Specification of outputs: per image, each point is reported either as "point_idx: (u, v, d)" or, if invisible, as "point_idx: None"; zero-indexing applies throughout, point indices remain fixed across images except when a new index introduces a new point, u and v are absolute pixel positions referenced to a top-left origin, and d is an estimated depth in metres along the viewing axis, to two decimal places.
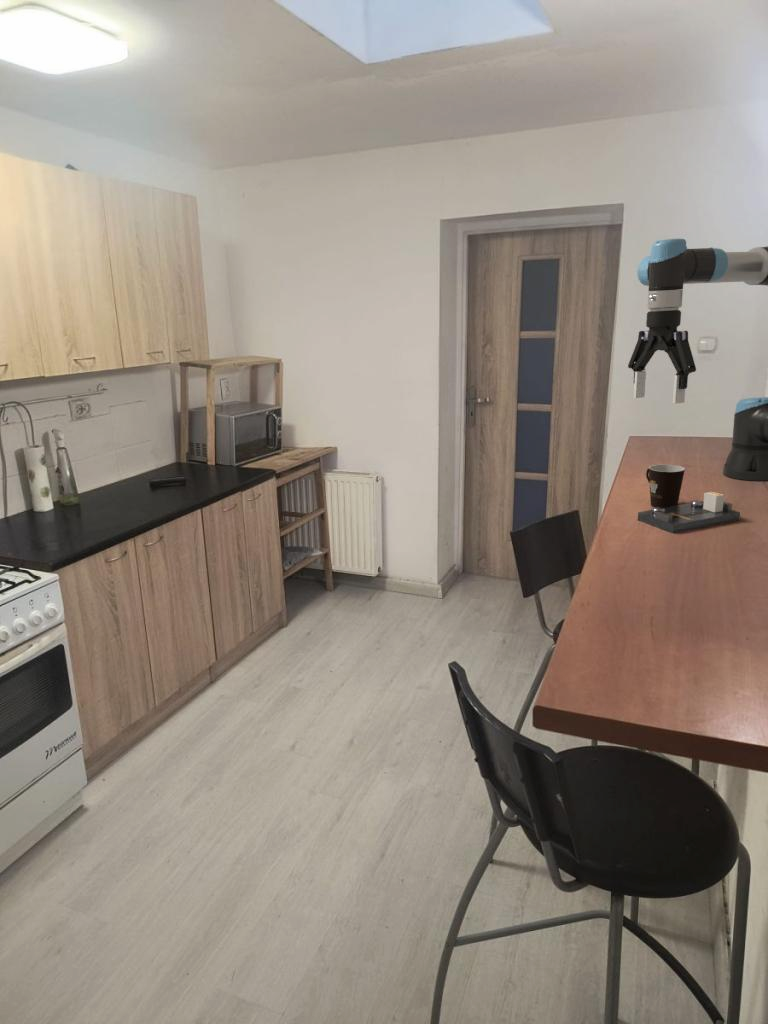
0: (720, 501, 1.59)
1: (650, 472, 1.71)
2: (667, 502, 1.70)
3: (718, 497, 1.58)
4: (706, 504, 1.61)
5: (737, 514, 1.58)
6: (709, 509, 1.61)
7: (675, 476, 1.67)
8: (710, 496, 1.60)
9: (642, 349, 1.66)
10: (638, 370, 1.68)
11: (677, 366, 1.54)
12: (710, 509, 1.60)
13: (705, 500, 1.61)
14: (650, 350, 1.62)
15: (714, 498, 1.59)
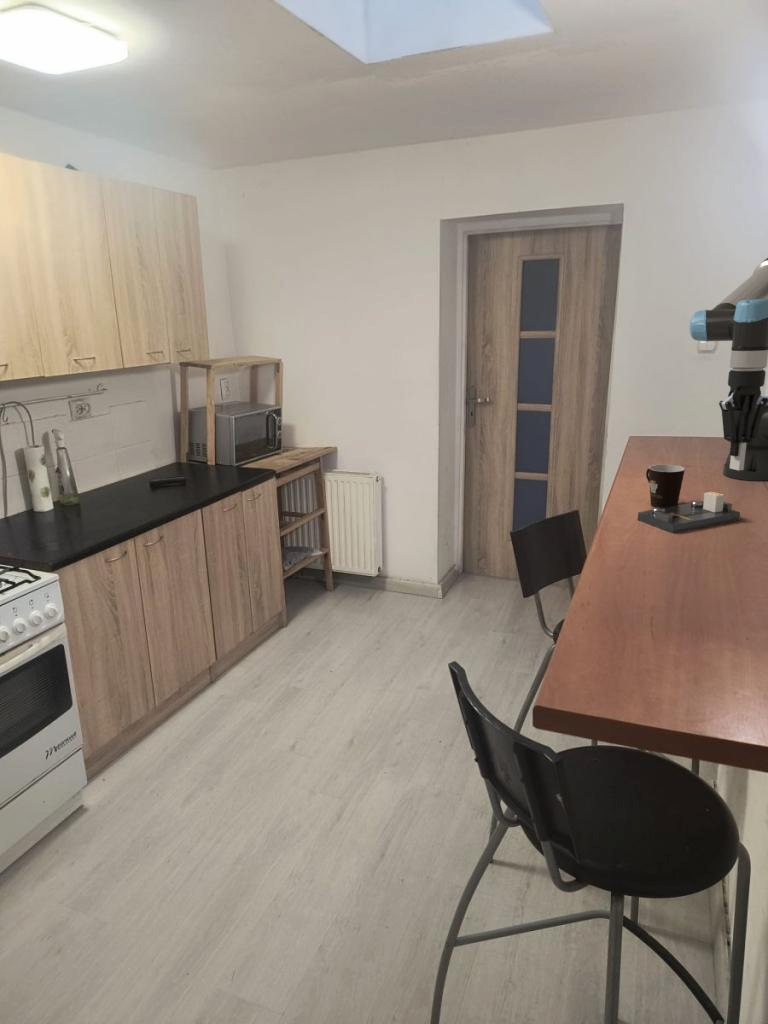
0: (720, 501, 1.59)
1: (650, 472, 1.71)
2: (667, 502, 1.70)
3: (718, 497, 1.58)
4: (706, 504, 1.61)
5: (737, 514, 1.58)
6: (709, 509, 1.61)
7: (675, 476, 1.67)
8: (710, 496, 1.60)
9: (754, 415, 1.58)
10: None
11: None
12: (710, 509, 1.60)
13: (705, 500, 1.61)
14: None
15: (714, 498, 1.59)
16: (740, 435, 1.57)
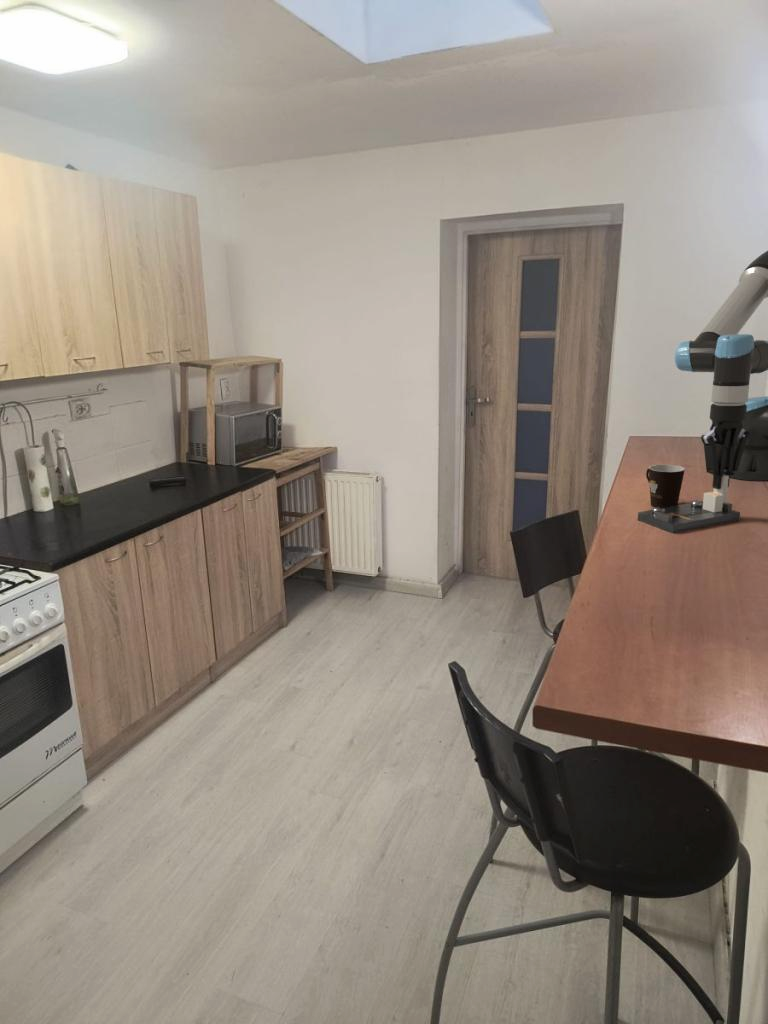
0: (719, 501, 1.59)
1: (650, 472, 1.71)
2: (667, 502, 1.70)
3: (717, 497, 1.58)
4: (706, 504, 1.61)
5: (737, 514, 1.58)
6: (708, 509, 1.60)
7: (675, 476, 1.67)
8: (709, 496, 1.60)
9: (736, 448, 1.59)
10: None
11: None
12: (709, 509, 1.60)
13: (704, 500, 1.61)
14: None
15: (714, 499, 1.58)
16: (722, 468, 1.57)
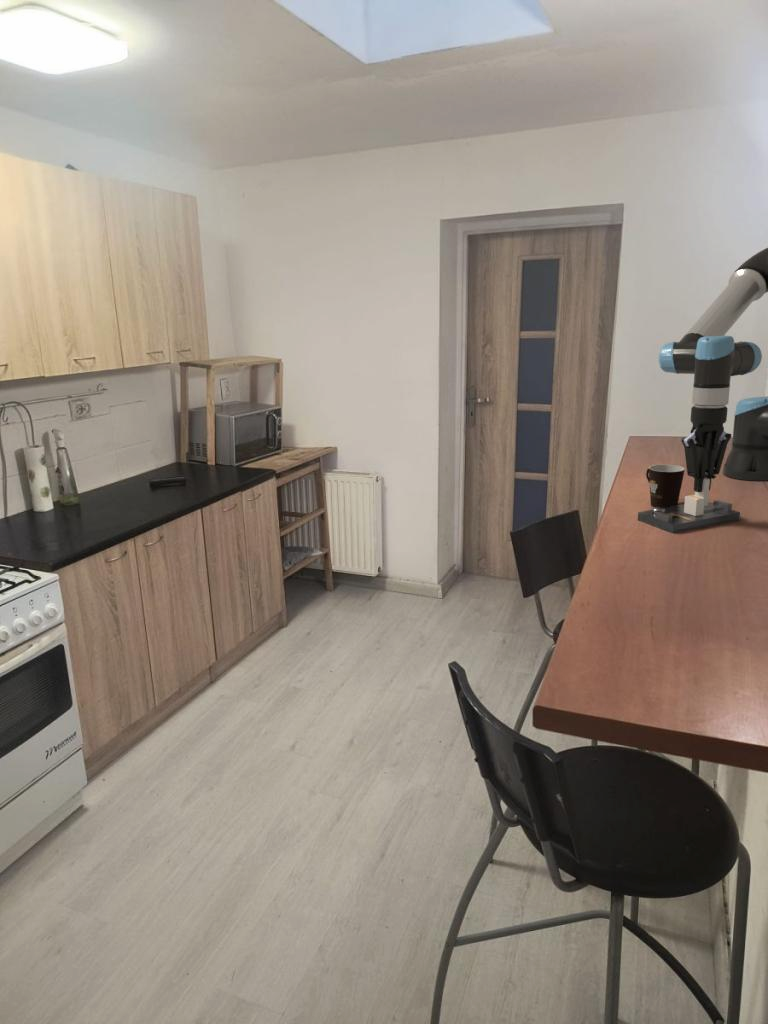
0: (701, 504, 1.57)
1: (650, 472, 1.71)
2: (667, 502, 1.70)
3: (698, 500, 1.56)
4: (687, 507, 1.59)
5: (737, 514, 1.58)
6: (690, 513, 1.59)
7: (675, 476, 1.67)
8: (690, 499, 1.58)
9: (717, 451, 1.57)
10: None
11: None
12: (691, 513, 1.58)
13: (686, 503, 1.59)
14: None
15: (695, 502, 1.57)
16: (703, 471, 1.55)
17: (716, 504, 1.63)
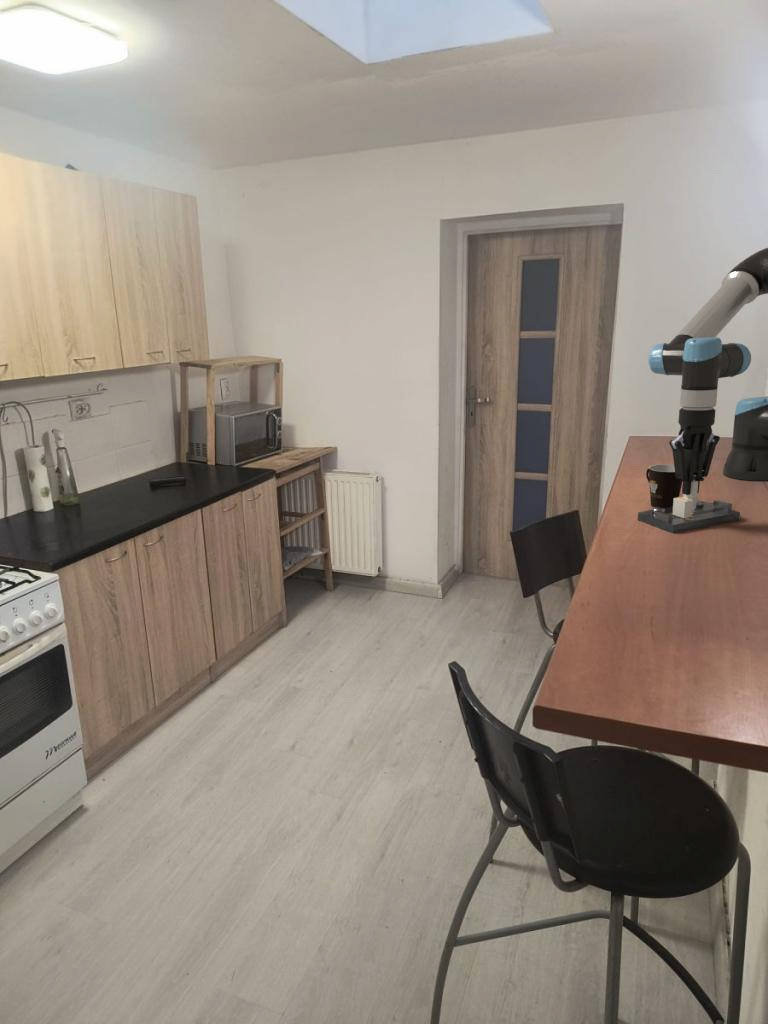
0: (689, 507, 1.56)
1: (650, 472, 1.71)
2: (667, 502, 1.70)
3: (687, 502, 1.55)
4: (675, 509, 1.58)
5: (737, 514, 1.58)
6: (678, 515, 1.57)
7: (675, 476, 1.67)
8: (679, 501, 1.57)
9: (706, 453, 1.56)
10: None
11: None
12: (679, 515, 1.57)
13: (674, 505, 1.58)
14: None
15: (683, 504, 1.55)
16: (691, 474, 1.54)
17: (716, 504, 1.63)
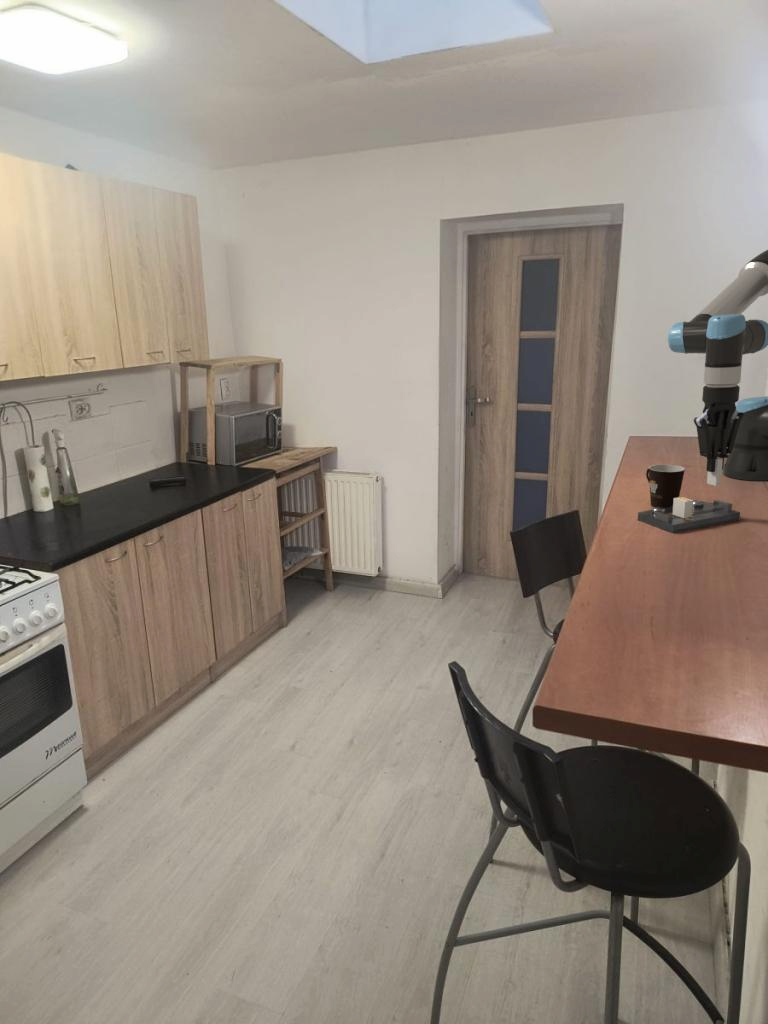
0: (689, 507, 1.56)
1: (650, 472, 1.71)
2: (667, 502, 1.70)
3: (687, 502, 1.55)
4: (675, 509, 1.58)
5: (737, 514, 1.58)
6: (678, 515, 1.57)
7: (675, 476, 1.67)
8: (679, 501, 1.57)
9: (730, 430, 1.57)
10: None
11: None
12: (679, 515, 1.57)
13: (674, 505, 1.58)
14: None
15: (683, 504, 1.55)
16: (716, 451, 1.55)
17: (716, 504, 1.63)
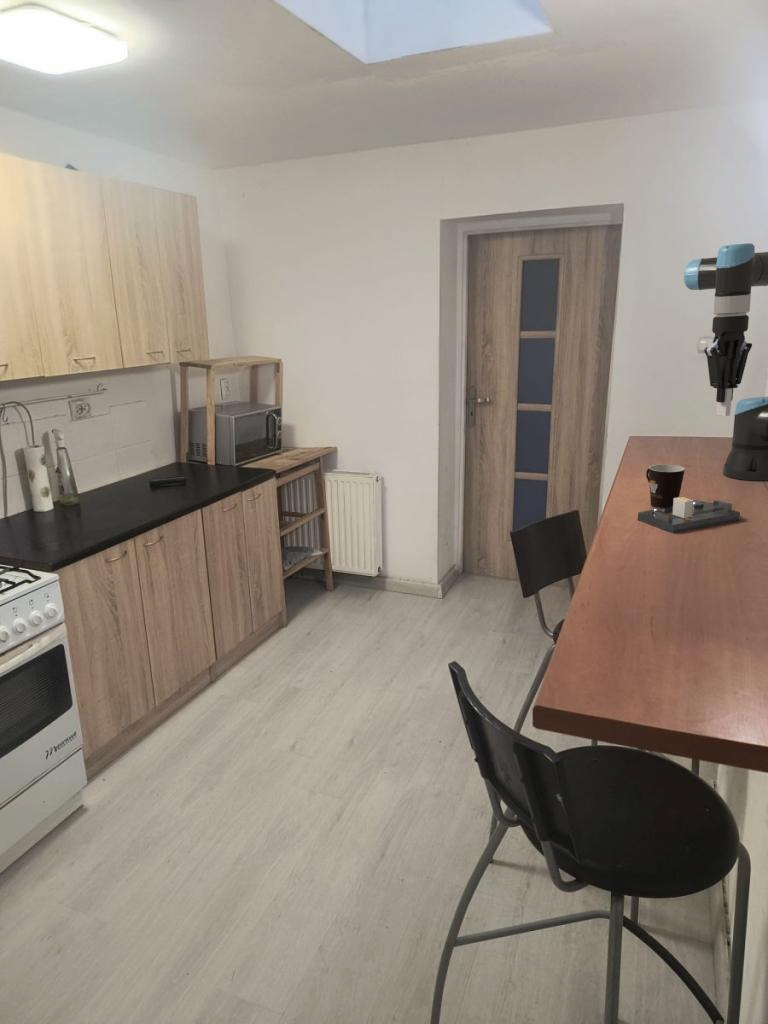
0: (689, 507, 1.56)
1: (650, 472, 1.71)
2: (667, 502, 1.70)
3: (687, 502, 1.55)
4: (675, 509, 1.58)
5: (737, 514, 1.58)
6: (678, 515, 1.57)
7: (675, 476, 1.67)
8: (679, 501, 1.57)
9: (738, 361, 1.60)
10: None
11: None
12: (679, 515, 1.57)
13: (674, 505, 1.58)
14: None
15: (683, 504, 1.55)
16: (726, 381, 1.59)
17: (716, 504, 1.63)
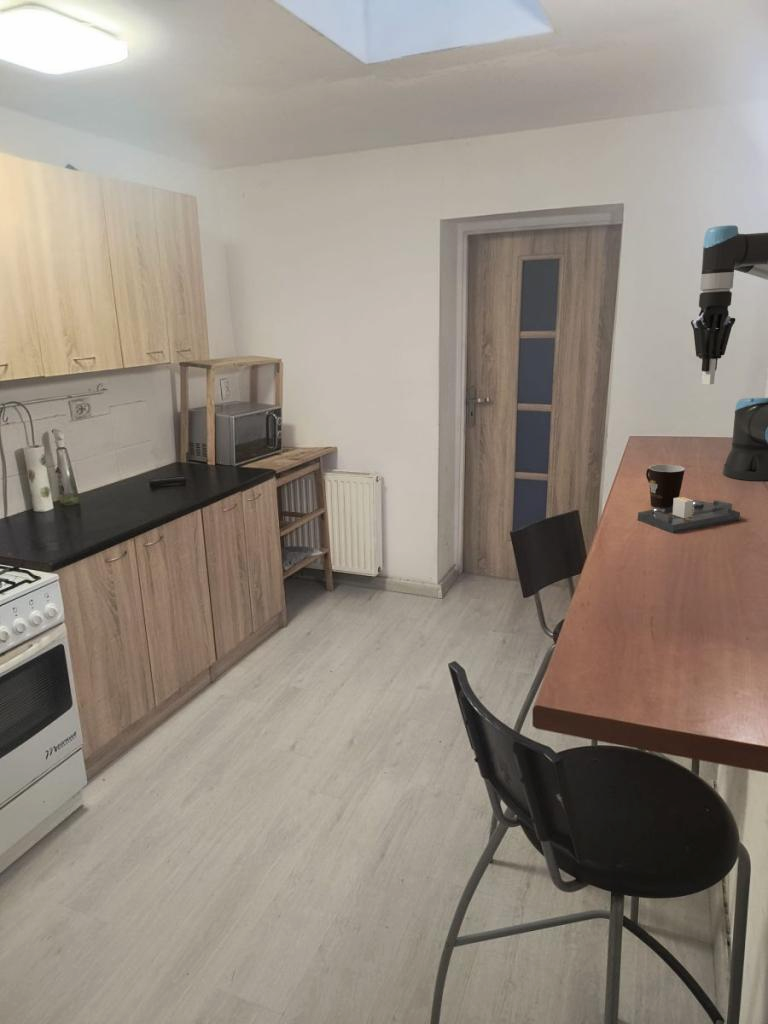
0: (689, 507, 1.56)
1: (650, 472, 1.71)
2: (667, 502, 1.70)
3: (687, 502, 1.55)
4: (675, 509, 1.58)
5: (737, 514, 1.58)
6: (678, 515, 1.57)
7: (675, 476, 1.67)
8: (679, 501, 1.57)
9: (723, 334, 1.76)
10: None
11: None
12: (679, 515, 1.57)
13: (674, 505, 1.58)
14: None
15: (683, 504, 1.55)
16: (710, 351, 1.74)
17: (716, 504, 1.63)
